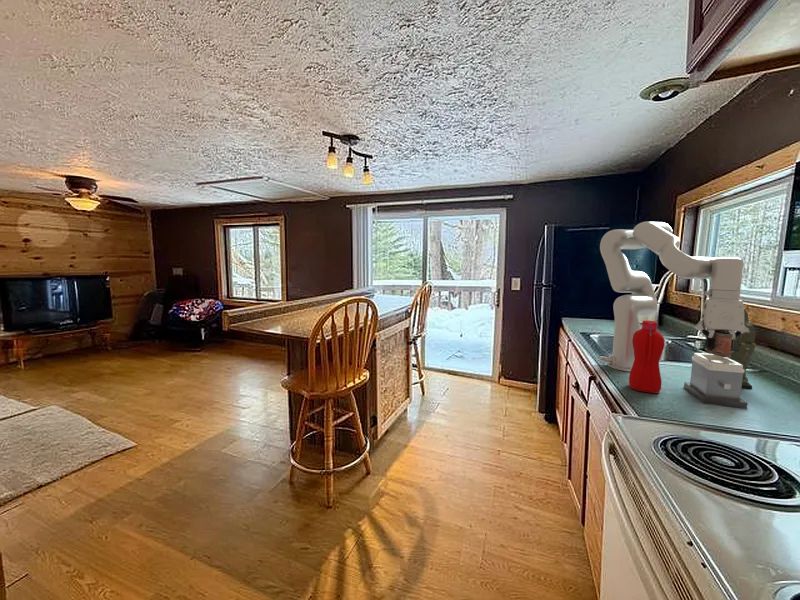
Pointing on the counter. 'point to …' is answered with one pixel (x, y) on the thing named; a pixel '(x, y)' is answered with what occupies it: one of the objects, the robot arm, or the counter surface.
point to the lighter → (721, 343)
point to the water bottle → (647, 358)
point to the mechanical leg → (744, 348)
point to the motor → (716, 380)
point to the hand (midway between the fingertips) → (718, 349)
